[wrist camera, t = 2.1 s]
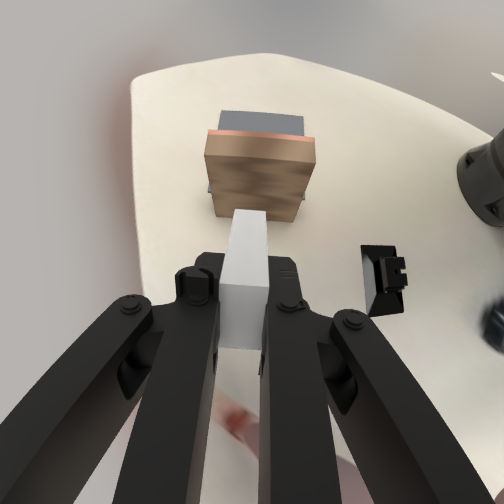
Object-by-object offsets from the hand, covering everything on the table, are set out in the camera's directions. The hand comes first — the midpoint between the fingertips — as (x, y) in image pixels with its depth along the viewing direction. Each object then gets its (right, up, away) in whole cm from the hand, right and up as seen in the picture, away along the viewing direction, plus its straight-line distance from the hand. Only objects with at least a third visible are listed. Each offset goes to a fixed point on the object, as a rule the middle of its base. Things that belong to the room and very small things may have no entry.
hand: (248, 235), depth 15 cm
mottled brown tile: (+1, +5, +25) cm, 25 cm away
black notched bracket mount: (+17, -5, +23) cm, 29 cm away
